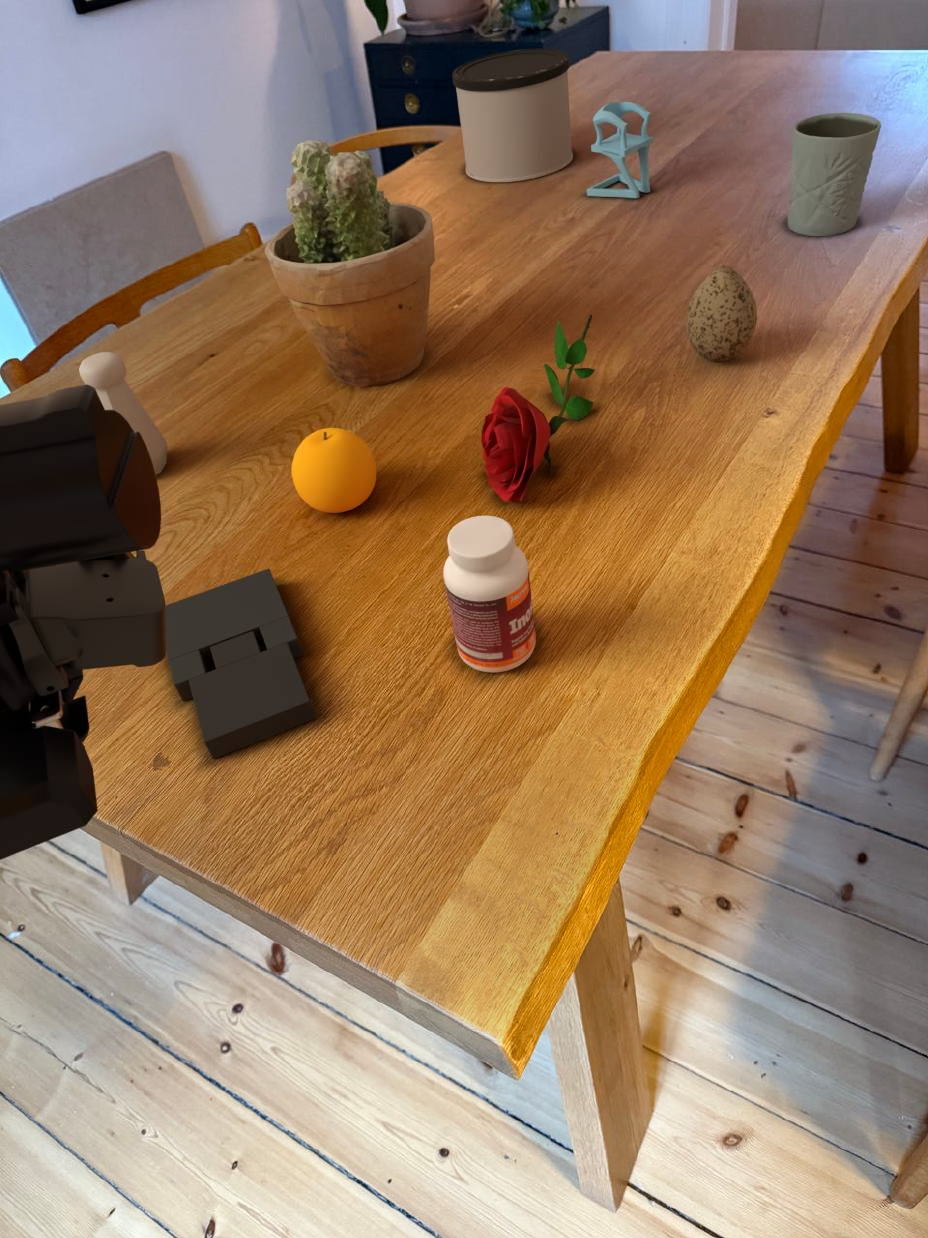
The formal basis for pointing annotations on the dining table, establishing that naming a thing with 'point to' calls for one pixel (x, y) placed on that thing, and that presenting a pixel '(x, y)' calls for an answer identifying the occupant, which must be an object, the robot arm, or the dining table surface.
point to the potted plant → (354, 267)
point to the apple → (334, 470)
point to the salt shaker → (123, 401)
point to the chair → (622, 150)
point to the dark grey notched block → (224, 624)
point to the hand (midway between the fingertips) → (83, 790)
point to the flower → (530, 424)
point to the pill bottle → (489, 595)
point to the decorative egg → (721, 315)
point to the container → (515, 114)
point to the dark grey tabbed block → (248, 695)
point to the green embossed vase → (830, 171)
